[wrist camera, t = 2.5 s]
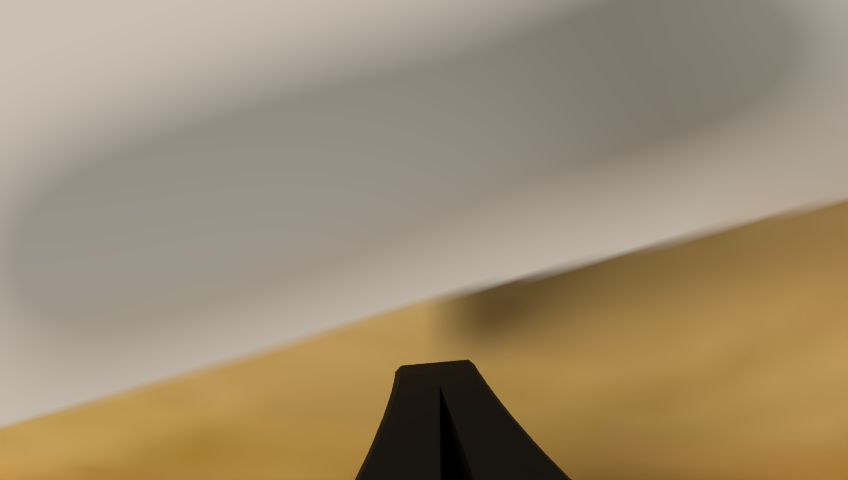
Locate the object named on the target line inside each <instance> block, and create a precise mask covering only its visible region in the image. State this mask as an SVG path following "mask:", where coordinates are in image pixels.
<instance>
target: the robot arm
mask: <svg viewBox="0 0 848 480" xmlns="http://www.w3.org/2000/svg"><path fill="white" fill-rule="evenodd" d="M355 480H571V479H570V478H569V477H568V476H567V475H566V474H565V473H564V472H563V471H562V470H561V469H560V468H559V467H558V466H557V465H556V464H555V463H554V462H553V461H552V460H551V459H550V458H549V457H548V456H547V455H546V454H545V453H544V452H543V451H542V449H541V448H540V447H539V446H538V445H537V444H536V443H535V442H534V441H533V440H532V439H531V437H530V436H529V435H528V434H527V433H526V432H525V430H524V429H523V428H522V427H521V426H520V425H519V423H518V422H517V421H516V420H515V419H514V418H513V417H512V415H511V414H510V413H509V412H508V410H507V409H506V408H505V407H504V406H503V404H502V403H501V402H500V400H499V399H498V398H497V396H496V395H495V394H494V393H493V391H492V390H491V389H490V387H489V386H488V384H487V383H486V382H485V380H484V379H483V377H482V376H481V374H480V373H479V371H478V370H477V368H476V367H475V365H474V364H473V363H472V362H471V361H469V360H459V361H448V362H437V363H426V364H415V365H404V366H401V367H400V368H399V369H398V370H397V371H396V372H395V379H394V384H393V388H392V392H391V395H390V399H389V402H388V405H387V407H386V410H385V413H384V416H383V419H382V421H381V424H380V426H379V428H378V431H377V433H376V436H375V438H374V441H373V443H372V445H371V448H370V450H369V452H368V454H367V456H366V458H365V460H364V462H363V464H362V466H361V468H360V471H359V473H358V475H357V477H356V479H355Z"/></svg>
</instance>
